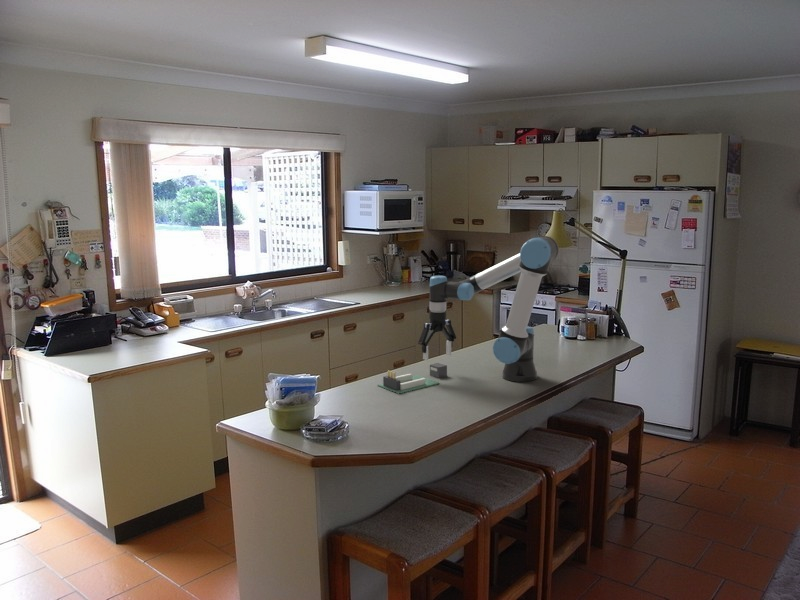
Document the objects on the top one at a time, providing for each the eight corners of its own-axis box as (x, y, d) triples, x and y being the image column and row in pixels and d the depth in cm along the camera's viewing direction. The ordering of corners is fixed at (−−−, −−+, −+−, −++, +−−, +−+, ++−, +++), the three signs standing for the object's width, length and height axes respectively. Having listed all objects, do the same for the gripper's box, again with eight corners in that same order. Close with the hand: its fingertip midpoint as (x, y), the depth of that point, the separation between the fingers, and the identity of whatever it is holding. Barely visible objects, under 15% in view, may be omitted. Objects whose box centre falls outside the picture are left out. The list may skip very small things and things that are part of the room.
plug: (446, 376, 300) (446, 365, 299) (438, 378, 297) (438, 367, 296) (438, 373, 305) (438, 362, 304) (429, 375, 302) (429, 364, 301)
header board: (439, 383, 288) (439, 366, 287) (398, 394, 275) (398, 376, 274) (417, 376, 300) (417, 360, 299) (377, 385, 287) (377, 368, 285)
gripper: (453, 306, 306) (452, 351, 310) (410, 312, 291) (410, 360, 295) (464, 308, 300) (463, 354, 304) (421, 315, 285) (421, 363, 289)
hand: (437, 357), depth 300 cm, fingers open, 13 cm apart
